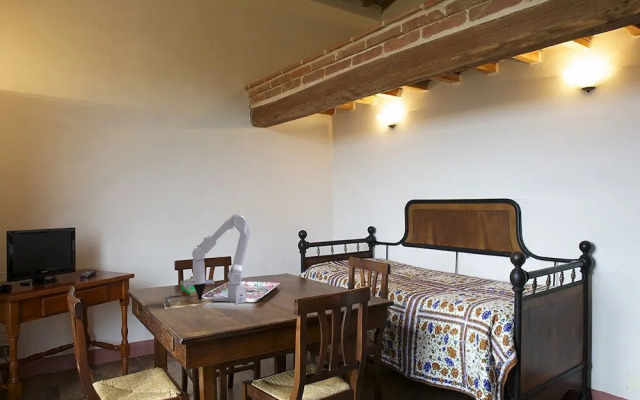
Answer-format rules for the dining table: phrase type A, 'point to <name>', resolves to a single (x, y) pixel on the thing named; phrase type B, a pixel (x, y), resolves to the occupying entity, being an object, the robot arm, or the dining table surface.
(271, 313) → the dining table surface
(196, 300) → the tan cardboard box
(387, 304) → the dining table surface
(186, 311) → the dining table surface
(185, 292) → the food container
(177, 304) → the board
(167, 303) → the cylinder
